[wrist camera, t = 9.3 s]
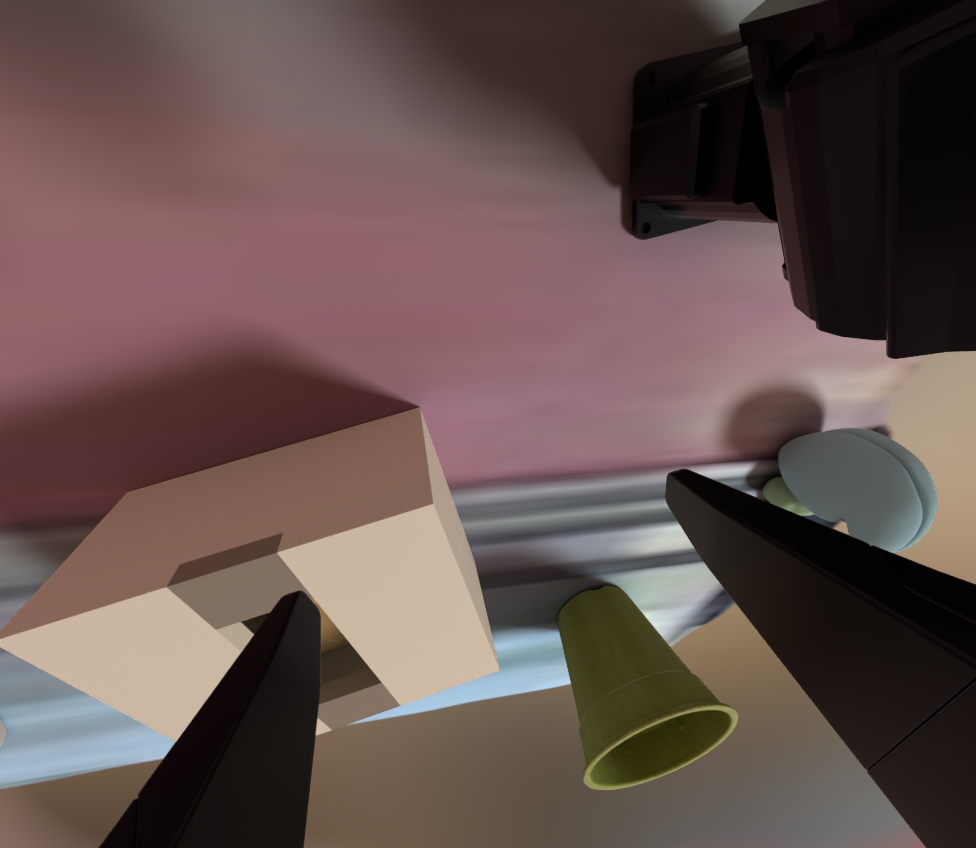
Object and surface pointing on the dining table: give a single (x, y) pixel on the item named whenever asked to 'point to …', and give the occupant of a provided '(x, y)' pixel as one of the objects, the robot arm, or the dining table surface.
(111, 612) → the box
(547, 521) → the dining table surface
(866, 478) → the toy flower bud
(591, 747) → the plant pot
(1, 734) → the cup
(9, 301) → the dining table surface
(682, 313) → the dining table surface
